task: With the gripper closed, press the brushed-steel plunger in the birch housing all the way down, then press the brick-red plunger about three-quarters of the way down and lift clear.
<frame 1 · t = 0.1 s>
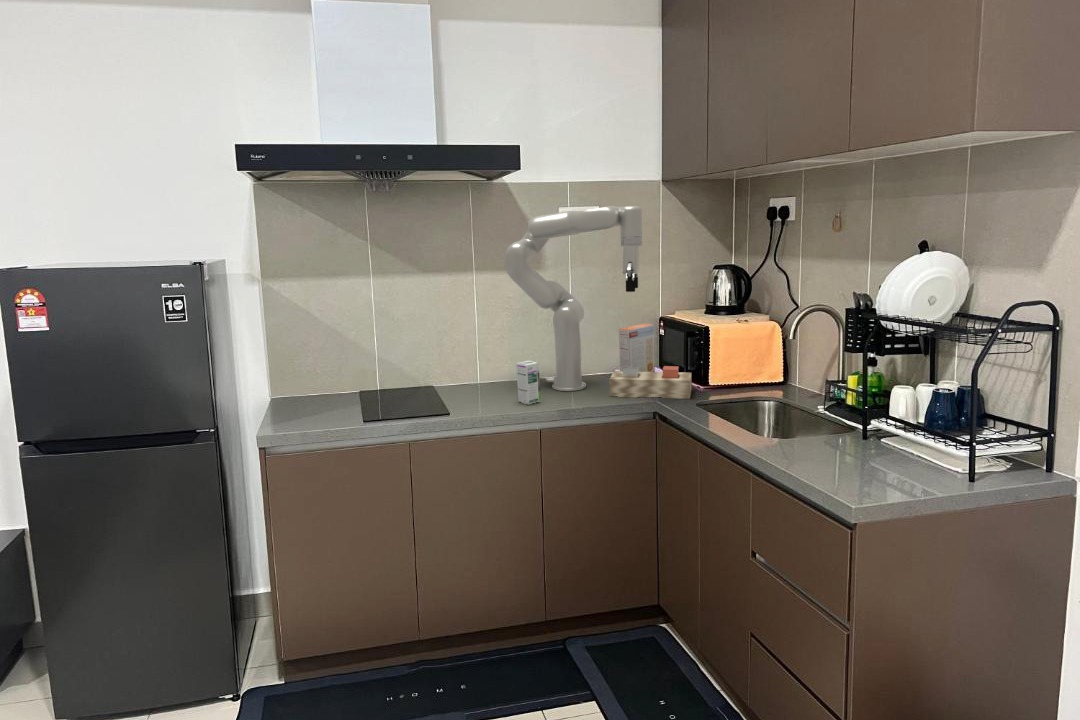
hand: (632, 289, 281), 37 cm above the worktop, tool pointing down, fingers open, 9 cm apart
steel plunger: (631, 373, 282), point 7 cm above the worktop, slide at 0.0 cm
red plunger: (670, 374, 279), point 7 cm above the worktop, slide at 0.0 cm
plunger housing: (650, 393, 282), on the worktop
cracker box: (637, 380, 303), on the worktop
syrup box: (529, 403, 276), on the worktop
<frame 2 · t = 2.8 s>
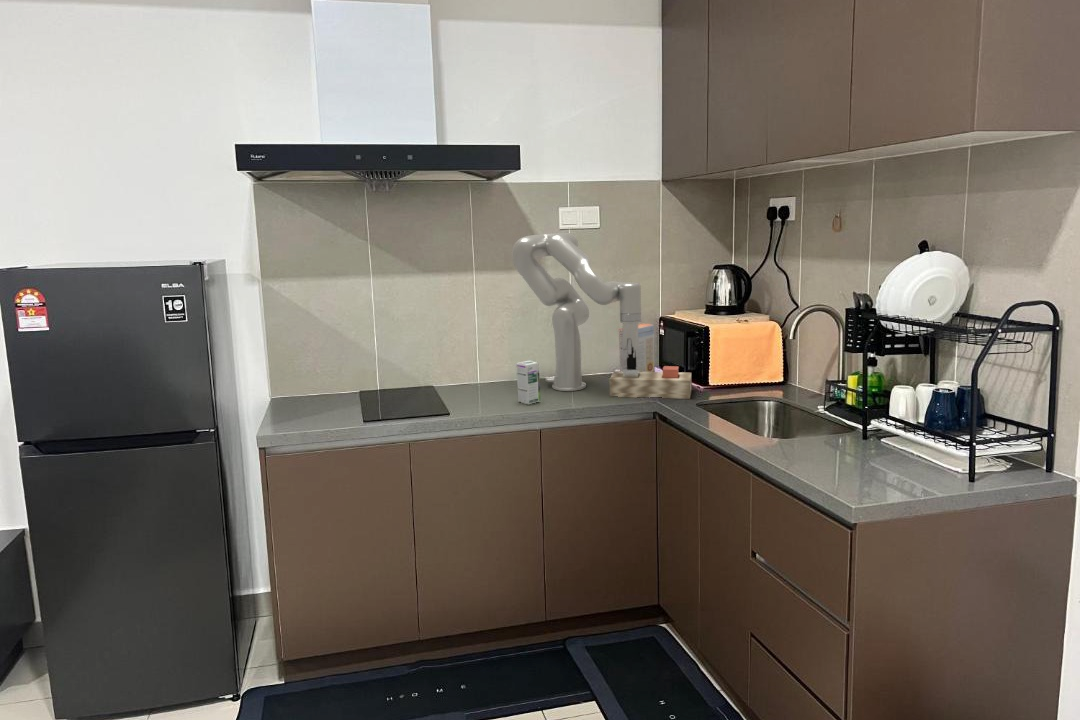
hand: (631, 368, 282), 9 cm above the worktop, tool pointing down, fingers closed
steel plunger: (631, 374, 282), point 7 cm above the worktop, slide at 0.3 cm, touching gripper
everything else where it was.
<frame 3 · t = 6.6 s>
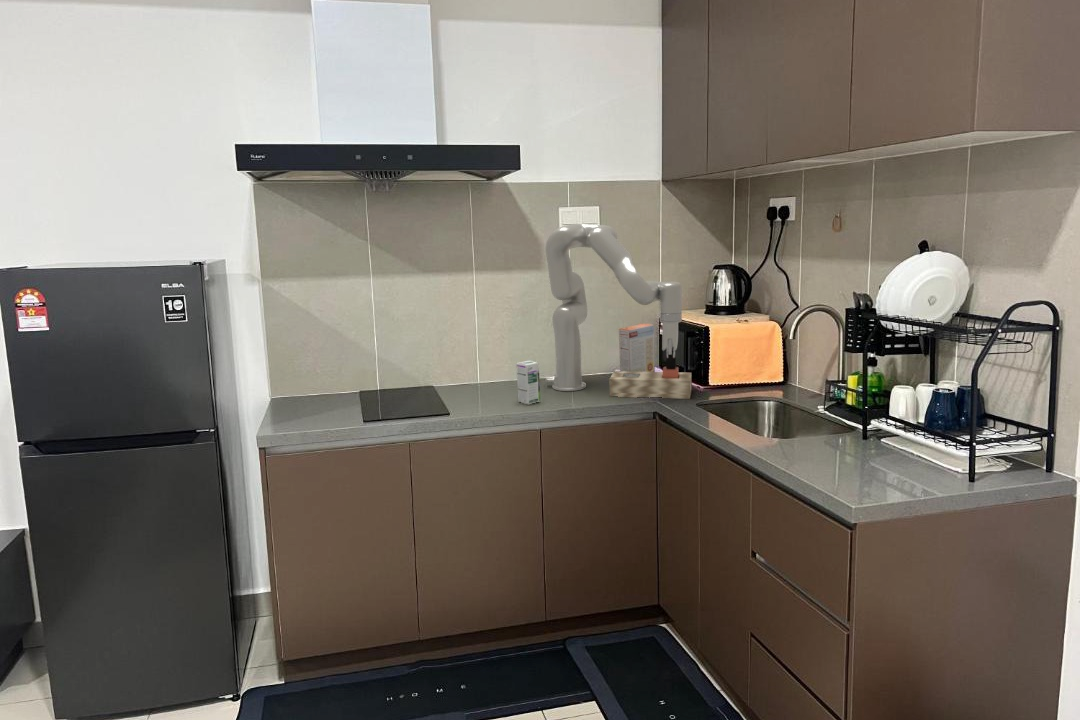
hand: (671, 368, 278), 9 cm above the worktop, tool pointing down, fingers closed
steel plunger: (631, 381, 283), point 4 cm above the worktop, slide at 3.0 cm
red plunger: (670, 375, 279), point 7 cm above the worktop, slide at 0.2 cm, touching gripper
everything else where it was.
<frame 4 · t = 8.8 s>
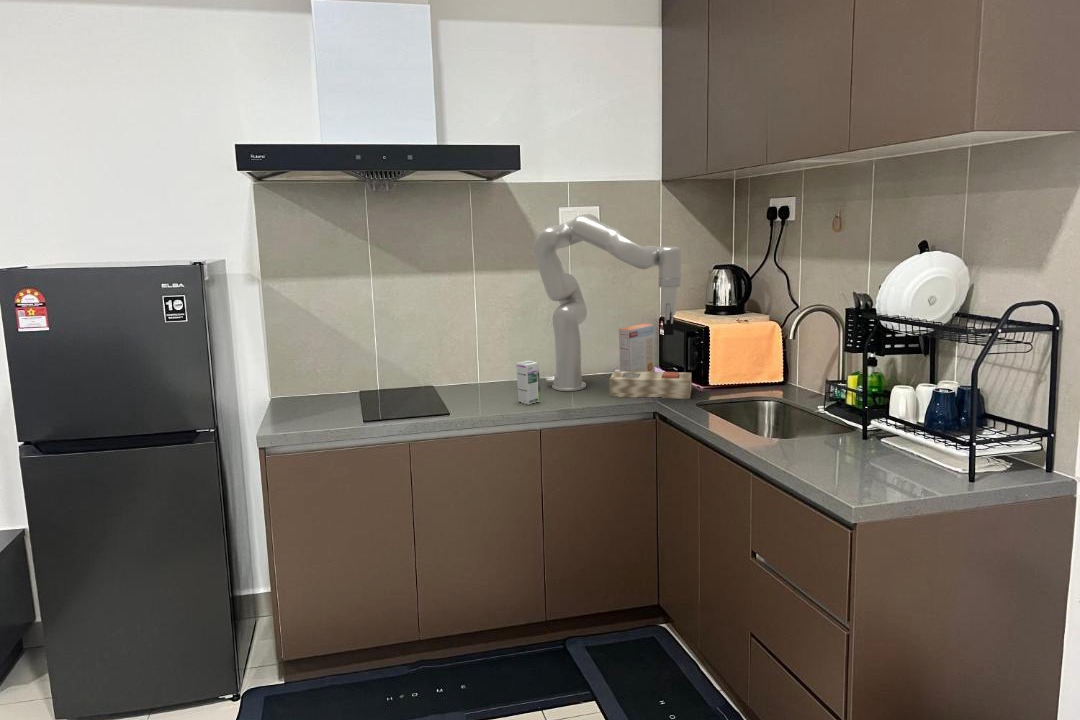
hand: (668, 334, 277), 21 cm above the worktop, tool pointing down, fingers closed
red plunger: (670, 380, 279), point 5 cm above the worktop, slide at 2.1 cm
everything else where it was.
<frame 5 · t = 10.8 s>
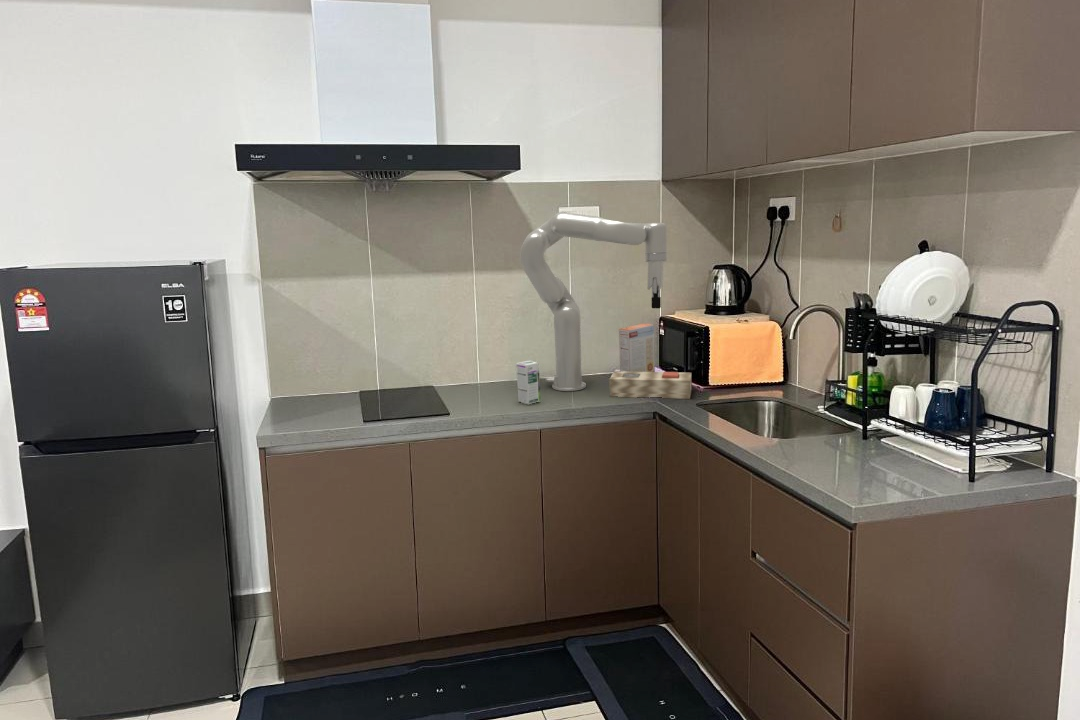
hand: (656, 307, 287), 29 cm above the worktop, tool pointing down, fingers closed
nothing on the worktop moved.
at the end: steel plunger slide at 3.0 cm; red plunger slide at 2.1 cm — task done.
